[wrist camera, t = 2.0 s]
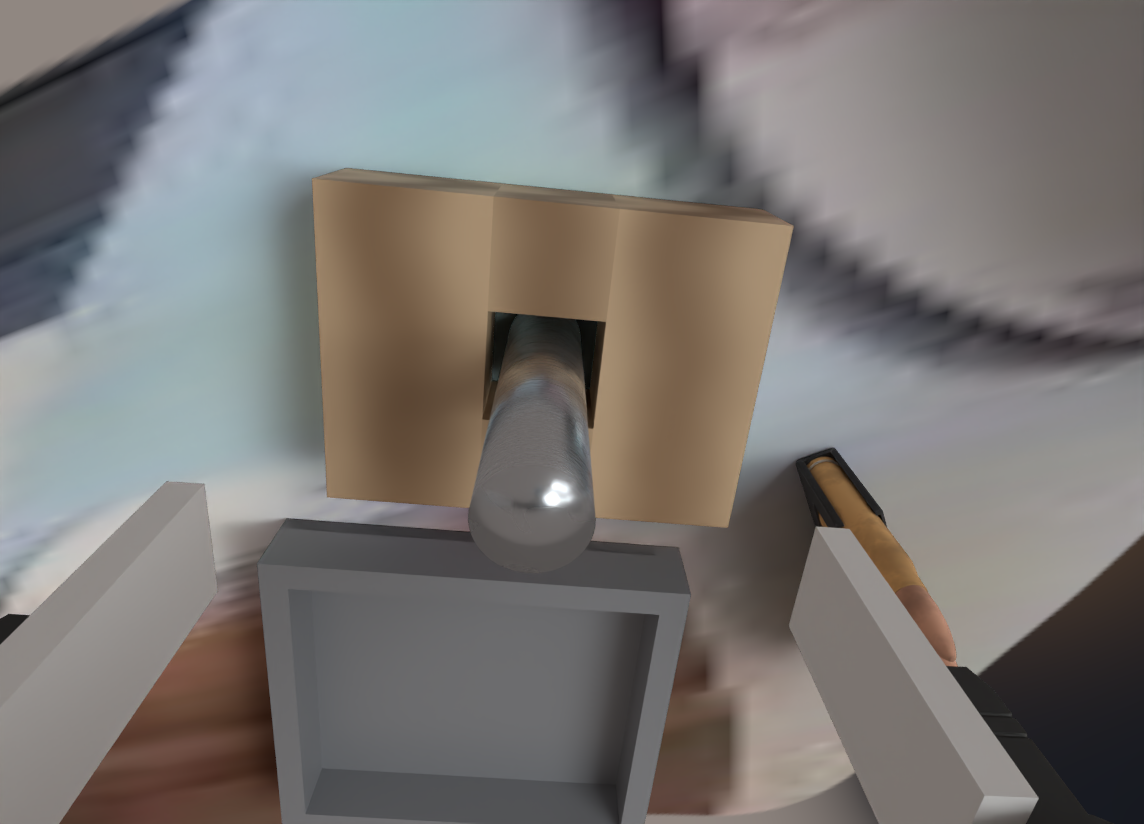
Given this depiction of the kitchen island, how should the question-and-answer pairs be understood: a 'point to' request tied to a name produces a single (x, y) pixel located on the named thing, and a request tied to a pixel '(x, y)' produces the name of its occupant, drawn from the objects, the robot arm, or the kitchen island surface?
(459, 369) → the tan board with hole
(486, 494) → the pin
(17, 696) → the robot arm
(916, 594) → the ammunition clip
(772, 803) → the kitchen island surface
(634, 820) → the tray
